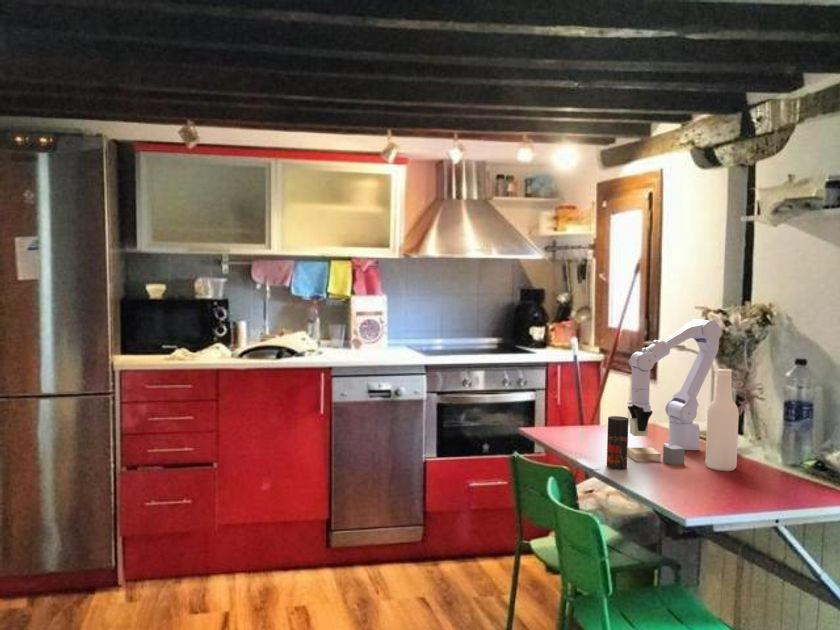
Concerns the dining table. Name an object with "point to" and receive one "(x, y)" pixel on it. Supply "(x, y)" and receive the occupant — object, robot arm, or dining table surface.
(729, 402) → the alcohol
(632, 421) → the sage cube
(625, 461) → the deodorant
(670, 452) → the grey cube
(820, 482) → the dining table surface
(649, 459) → the birch slab
